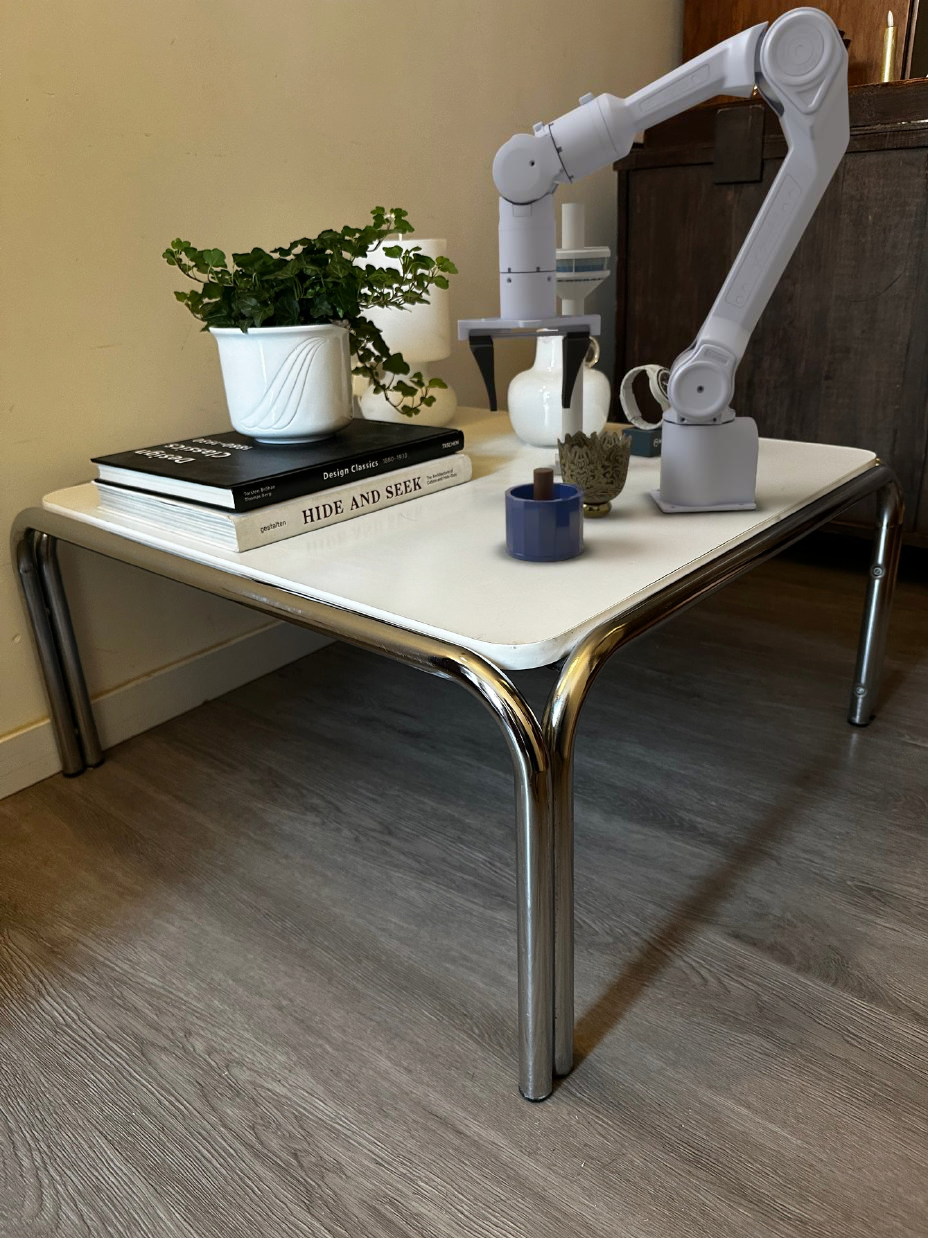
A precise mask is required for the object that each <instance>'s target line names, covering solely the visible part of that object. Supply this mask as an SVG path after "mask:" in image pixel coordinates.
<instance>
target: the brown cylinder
mask: <svg viewBox="0 0 928 1238" xmlns="http://www.w3.org/2000/svg"><path fill="white" fill-rule="evenodd" d="M532 474H533V478H532V479H533V480H532V481H533V483H534V500H539V501H541V500H554V482H555V478H554V477H555V476H554V475H555V469H554V468H552V467H537V468H534V469H533V473H532Z"/></svg>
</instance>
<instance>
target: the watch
mask: <svg viewBox="0 0 928 1238" xmlns="http://www.w3.org/2000/svg"><path fill="white" fill-rule="evenodd" d="M643 370H645V371H646V374H647V377H648V378H649V389H650V391H651V394H652V395H653V397H654V399H655V400H656V402H658V403H659V404H660V406H661V411H662V412H665V411H667V410H668V409H670V408H671V407H672V406H671V404H670V402H669V399H668V394H667V387H668V382H669V378H670V371H671V369H669V368H667V367H663V366H661V365H659V364H646V365H641V366H637V367H634V368H633V369H630V370H629V371H628V372H627V373H626V374H625V376H624V378H623V379H622V382H621V385H620V394H619V399H620V403H621V407H622V409H623V412H624V415H625V416H626V418H627V420H628V422H629V423H631V424H633V426H629V427H626V428H622V429H621V438H622V437H623V435H624V433H625V434H626V439H627V438H628V437H629V436H631V435H632V446H631V452H630V456H636V457H637V456H638V457H645V458H652V457H654V456H657V455H661V446H662V421H663V417H662V419H660V421H659V422H658V423H652V422H647V421H646V420H644V419H643V417H642V413H641V411H640V410H639V407H638V405H637V401H636V398H635V397H636V396H635V394H634V393H633V387H632V386H633V384H632V383H633V382H634V379H635V378H636V377H637V375H638V374H639V373H640V372H641V371H643Z"/></svg>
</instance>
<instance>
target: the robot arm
mask: <svg viewBox="0 0 928 1238" xmlns="http://www.w3.org/2000/svg"><path fill="white" fill-rule="evenodd" d="M768 24H769V21H768V20H767V21H764V22H761V23H758V24H756V25H754V26H751V27H750V28H747V29H745V30H743V31H741V32H739V33H737V34H736V35H733V36H731V37H729V38H727V39H725V40H723V41H722V42H720V43H718V44H716V45H714V46H713V47H711V48H709V49H708V50H706V51H703V53H701V54H699V55H698V56H696V57H694V58H692V59H690V60H688V61H687V62H685V63H683V64H682V65H680V66H679V67H677V68H675V69H673V70H672V71H670V72H669V73H666V74H665V75H663V76H662V77H660V78H658V79H656V80H655V81H653V82H651V83H649V84H648V85H646V86H644V87H643V88H641V89H639V90H637V91H636V92H634V93H633V94H631V95H628V96H627V97H626V98H621V97H619V96H615V95H613V94H611V93H608V92H604V93H602V94H600V95H598V96H596V97H595V95H594V94H593V93H592V92H589V93H587V94H585V95H583V96H581V97H579V98H578V102H579V104H580V105H579V106H578V107H576V108H575V109H573V110H571V111H569V112H567V113H565V114H564V115H562V116H560V117H558V118H555V119H554V120H552V121H550V122H549V123H547V124H545V123H544V122H543V121H539V122H538V123H536V124H534V125H532V130H533V132H534V135H533V134H530V133H517V134H514V135H512V137H511V138H510V139H509V140H508V141H506V142H505V143H504V144H503V145H501V147H500V148H499V149H498V151H497V152H496V154H495V156H494V159H493V162H492V171H491V172H492V178H493V183H494V185H495V187H496V189H497V191H498V192H499V194H500V195H502V196H499V197H498V204H499V205H498V212H499V223H498V226H497V227H498V228H497V229H498V260H499V261H498V263H499V264H498V265H499V267H498V268H499V302H500V303H499V304H500V305H499V307H500V308H499V309H500V316H499V317H486V318H474V319H473V318H472V319H470V318H469V319H457V335H458V337H457V338H458V341H459V342H465V341H468V343H469V349H470V352H471V353H472V356H473V358H474V360H475V362H476V364H477V366H478V369H479V372H480V375H481V377H482V380H483V382H484V386H485V389H486V392H487V393H486V394H487V395H488V396H487V397H488V404H489V411H490V412H494V413H495V412H498V400H497V391H496V383H495V382H496V381H495V347H494V340H495V339H497V340H498V339H521V338H542V337H562V336H565V337H564V338H563V339H562V338H561V354H562V353H563V381H562V380H561V395H560V396H561V408H562V407H563V409H569V408H570V404H571V397H572V392H573V388H574V384H575V381H576V378H577V375H578V372H579V369H580V367H581V364H582V362H583V363H584V359H585V357H586V356H587V353H588V351H589V349H590V347H591V343H592V341H591V340H592V339H591V337H590V336H600V335H601V323H602V322H601V315H600V314H597V313H593V314H584V315H562V314H557V294H556V271H552V270H556V248H557V221H556V219H555V193H556V192H557V190H558V188H559V186H560V184H563V185H565V186H571V185H572V184H574V183H576V182H578V181H580V180H582V179H584V178H586V177H588V176H590V175H592V174H593V173H595V172H598V171H599V170H602V169H603V168H605V167H607V166H609V165H611V164H613V163H615V162H617V161H619V160H621V159H624V158H625V157H626V156H628V155H629V154H630V151H631V149H632V147H633V144H634V141H635V138H636V136H637V135H638V134H639V133H642V132H643V131H645V130H647V129H649V128H652V127H654V126H655V125H658V124H660V123H662V122H665V121H666V120H668V119H670V118H672V117H675V116H677V115H678V114H680V113H682V112H685V111H687V110H688V109H691V108H693V107H696V106H697V105H699V104H701V103H703V102H706V101H707V100H710V99H712V98H714V97H716V96H719V95H724V96H732V97H739V98H748V99H749V98H751V95H752V93H753V90H754V87H755V85H756V88H757V90H758V92H759V94H760V95H761V97H762V98H763V100H764V101H765V102H766V103H767V104H768V106H769V107H770V108H771V109H772V111H774V113H775V114H776V115H777V117H778V121H779V125H780V127H781V130H782V133H783V137H784V139H785V141H786V145H787V148H788V151H787V153H786V155H785V157H784V160H783V161H782V164H781V166H780V167H779V170H778V172H777V174H776V176H775V178H774V180H773V182H772V184H771V186H770V189H769V190H768V193H767V195H766V196H765V199H764V200H763V202H762V205H761V206H760V209H759V210H758V213H757V215H756V217H755V219H754V221H753V223H752V225H751V227H750V229H749V231H748V233H747V235H746V237H745V239H744V242H743V244H742V246H741V248H740V249H739V252H738V254H737V255H736V258H735V259H734V262H733V264H732V266H731V268H730V270H729V272H728V274H727V276H726V278H725V280H724V282H723V284H722V287H721V289H720V291H719V293H718V294H717V296H716V298H715V301H714V302H713V304H712V307H711V309H710V310H709V312H708V315H707V316H706V318H705V320H704V322H703V324H702V325H701V326H700V329H699V331H698V332H697V335H696V337H695V339H694V340H693V342H692V343H691V345H690V346H688V347H687V348H686V349H685V350H683V351H682V352H681V353H680V354H679V355H678V356H677V357H676V358H675V360H674V361H673V363H672V365H671V368H670V378H669V382H668V387H667V394H668V399H669V402H670V404H671V406H672V407H671V408H670V409H668V410H667V411H665V412H664V411H662V418H663V421H662V446H661V454H660V473H659V474H660V475H659V488H658V489H657V488H655V489H653V488H652V489H650V490H649V495H650V496H651V498H652V499H653V500H654V502H655V503H656V504H657V505H658V507H659V508H660V510H661V511H662V512H663V513H689V512H690V513H691V512H693V513H694V512H717V511H718V512H719V511H742V510H755V509H757V503H755V497H756V488H757V487H756V485H757V473H758V464H759V463H758V462H759V448H760V446H759V444H760V443H759V441H760V440H759V430H758V426H757V424H756V420H755V419H754V418H753V417H750V416H736V410H735V409H733V408H731V407H730V404H731V402H732V400H733V397H734V394H735V376H736V372H737V370H738V367H739V365H740V363H741V361H742V359H743V357H744V354H745V351H746V349H747V346H748V343H749V341H750V339H751V338H750V337H751V336H752V333H753V332H754V329H755V328H756V325H757V323H758V322H759V319H761V316H762V314H763V313H764V310H765V308H766V306H767V304H768V302H769V300H770V298H771V297H772V295H773V292H774V291H775V289H776V287H777V285H778V283H779V281H780V279H781V277H782V275H783V273H784V272H785V270H786V267H787V266H788V263H789V261H790V260H791V258H792V256H793V254H794V252H795V250H796V248H797V246H798V244H799V242H800V240H801V238H802V236H803V234H804V233H805V231H806V228H807V227H808V224H809V223H810V221H811V219H812V217H813V215H814V214H815V211H816V209H817V208H818V205H819V204H820V201H821V200H822V198H823V195H824V193H825V191H826V190H827V188H828V186H829V184H830V182H831V180H832V178H833V176H834V174H835V173H836V170H837V169H838V167H839V164H840V163H841V161H842V159H843V157H844V155H845V153H846V151H847V148H848V145H849V142H850V112H849V111H850V110H849V90H848V87H849V86H848V71H849V70H848V69H849V53H848V50H847V48H846V46H845V44H844V41H843V39H842V37H841V34H840V33H839V30H838V27H837V26H836V24H835V22H834V20H833V19H832V17H830V16H829V14H827V13H826V12H824V11H823V10H821V9H818V8H817V7H810V6H801V7H796V8H794V9H791V10H789V11H786V12H784V13H783V14H782V15H780V16H779V17H778V18H777V19H776V20H774V22H773V23H772V24H771V26H770V27H769V28H768ZM767 28H768V30H767ZM544 328H545V329H546V330H539V331H537V330H536V331H517V332H516V331H515V332H514V331H513V332H512V330H523V329H524V330H525V329H544Z"/></svg>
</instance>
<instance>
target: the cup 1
mask: <svg viewBox="0 0 928 1238" xmlns="http://www.w3.org/2000/svg"><path fill="white" fill-rule="evenodd" d="M504 516H505V518H504V519H505V547H506V554H508V555H509V556H510V557H512V558H515V559H518V560H521V561H525V562H526V561H527V562H535V563H548V562H549V563H550V562H559V561H565V560H569V559H572V558H575V557H578V556H579V555H580V554H582V552H583V551H584V549H583V547H584V519H585V518H584V492H583V490H582V488H580V487H578V486H575V485H572V484H566V483H563V482H557V481H556V482H555V481H554V500H541V501H539V500H534V482H527V483H521V484H518V485H517V484H516V485H514V486H511V487H509V488H507V489H506V490H504Z"/></svg>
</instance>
